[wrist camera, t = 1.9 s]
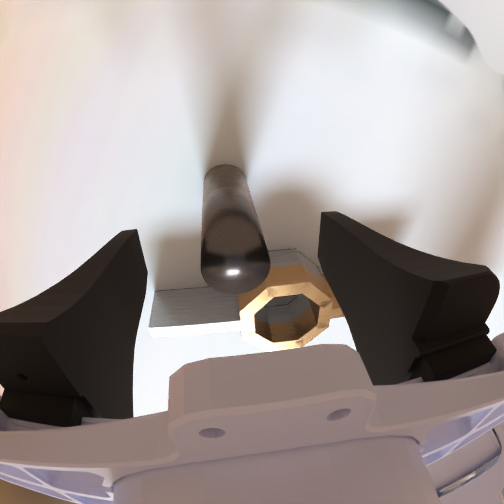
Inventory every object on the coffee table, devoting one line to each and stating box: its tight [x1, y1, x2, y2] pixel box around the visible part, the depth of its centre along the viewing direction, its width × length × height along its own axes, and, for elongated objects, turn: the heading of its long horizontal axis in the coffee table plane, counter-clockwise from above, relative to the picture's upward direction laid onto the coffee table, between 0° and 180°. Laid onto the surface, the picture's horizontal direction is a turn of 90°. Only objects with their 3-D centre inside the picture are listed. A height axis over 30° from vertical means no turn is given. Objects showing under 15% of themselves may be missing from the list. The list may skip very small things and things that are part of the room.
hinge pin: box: [201, 165, 271, 294], centre depth 14 cm, size 2×2×8 cm
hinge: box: [149, 249, 344, 352], centre depth 20 cm, size 17×6×4 cm, turn 92°
